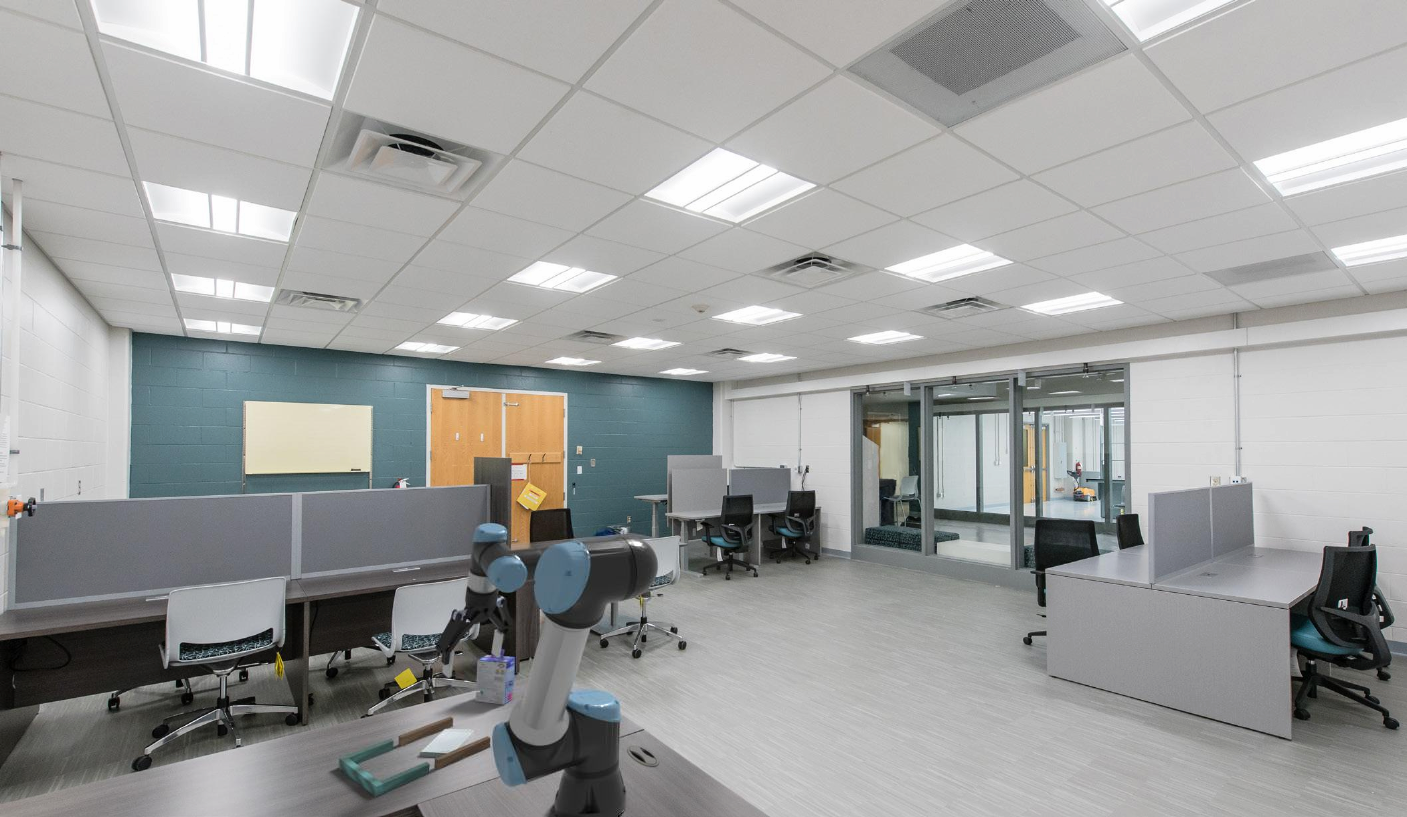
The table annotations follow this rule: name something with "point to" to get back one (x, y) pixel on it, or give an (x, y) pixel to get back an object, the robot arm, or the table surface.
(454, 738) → the hard drive
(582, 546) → the robot arm
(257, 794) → the table surface
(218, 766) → the table surface
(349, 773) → the chute
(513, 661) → the ink cartridge box
